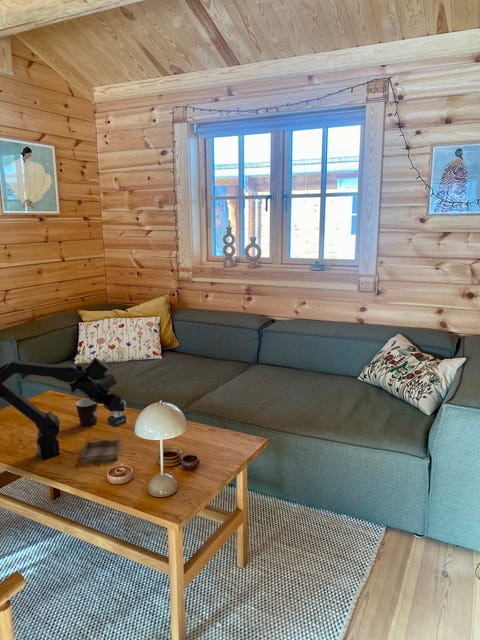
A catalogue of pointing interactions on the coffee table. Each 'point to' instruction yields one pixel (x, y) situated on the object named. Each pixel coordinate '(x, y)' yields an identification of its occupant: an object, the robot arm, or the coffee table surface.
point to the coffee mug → (87, 412)
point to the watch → (117, 417)
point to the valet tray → (100, 451)
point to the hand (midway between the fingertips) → (118, 407)
